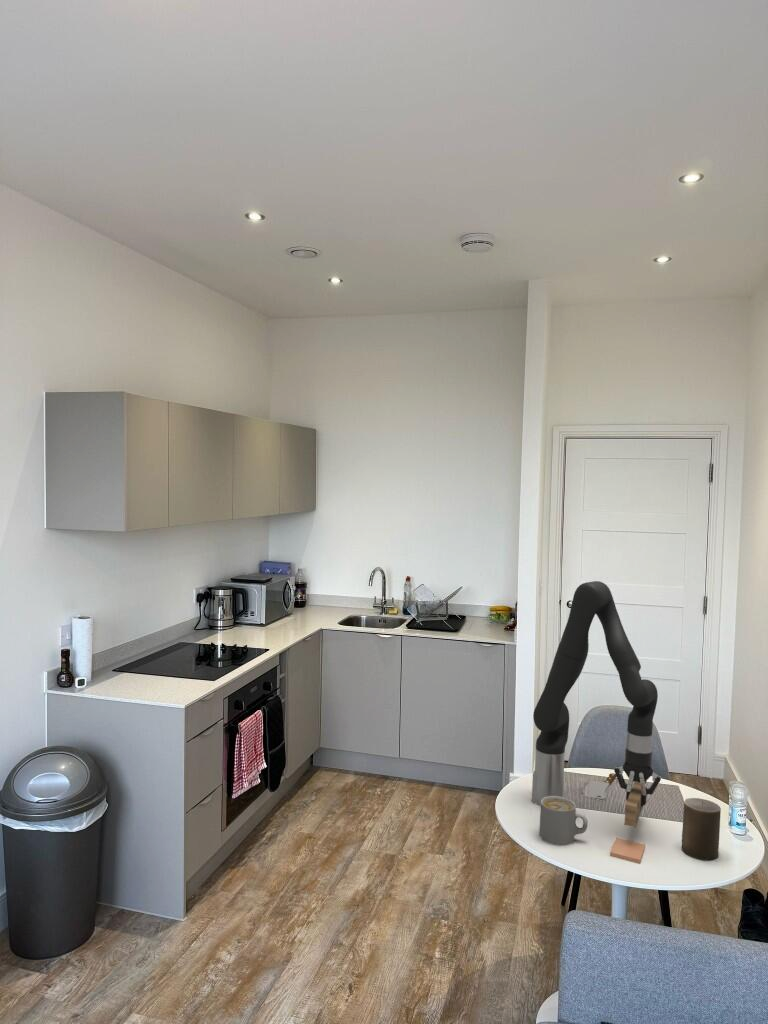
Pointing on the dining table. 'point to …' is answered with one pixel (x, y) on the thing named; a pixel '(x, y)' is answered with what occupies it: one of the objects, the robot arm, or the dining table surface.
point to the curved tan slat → (633, 805)
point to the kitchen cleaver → (600, 787)
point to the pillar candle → (701, 828)
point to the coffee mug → (560, 820)
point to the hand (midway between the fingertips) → (636, 804)
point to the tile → (627, 850)
